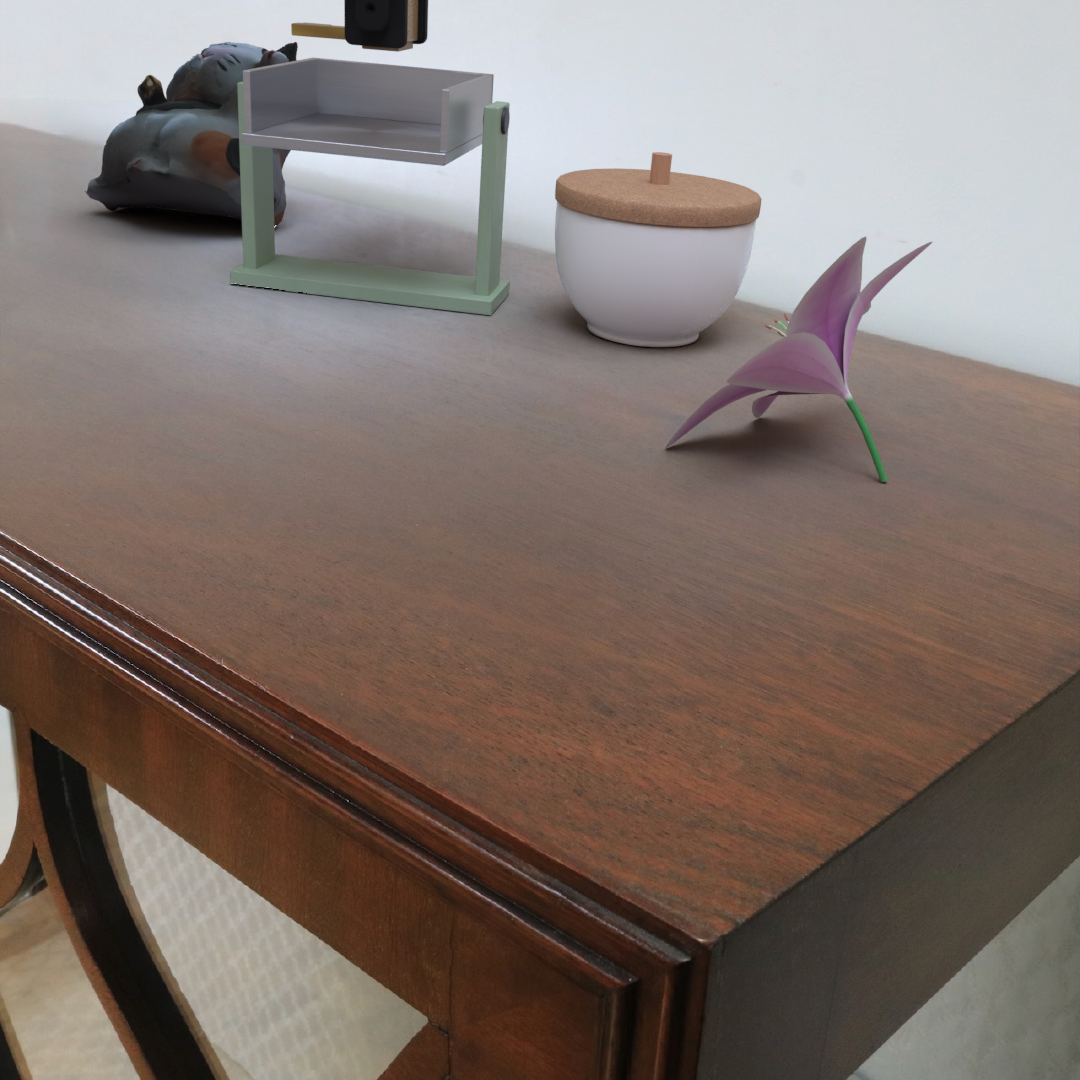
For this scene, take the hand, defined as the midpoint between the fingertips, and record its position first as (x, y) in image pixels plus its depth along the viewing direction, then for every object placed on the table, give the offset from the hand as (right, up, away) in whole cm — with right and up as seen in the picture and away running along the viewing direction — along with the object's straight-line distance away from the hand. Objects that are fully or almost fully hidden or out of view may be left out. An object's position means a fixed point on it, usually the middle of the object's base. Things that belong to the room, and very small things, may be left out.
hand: (387, 40), depth 65 cm
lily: (+19, -23, -13) cm, 33 cm away
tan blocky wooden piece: (-2, 0, 0) cm, 2 cm away
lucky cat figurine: (-15, -4, +20) cm, 26 cm away
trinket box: (+14, -15, +2) cm, 21 cm away
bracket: (-2, -12, +6) cm, 13 cm away
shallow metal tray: (0, -3, +6) cm, 7 cm away
